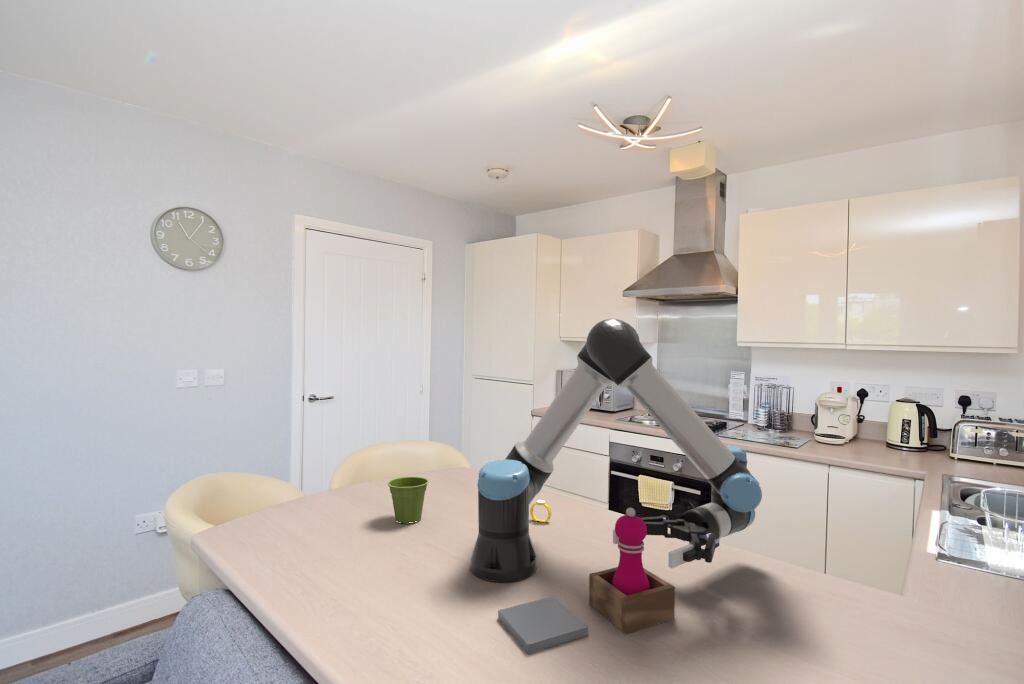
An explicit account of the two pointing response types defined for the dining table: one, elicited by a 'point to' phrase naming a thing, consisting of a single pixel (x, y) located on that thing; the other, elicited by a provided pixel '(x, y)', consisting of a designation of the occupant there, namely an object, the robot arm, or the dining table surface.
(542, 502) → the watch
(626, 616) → the walnut collar
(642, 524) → the pepper mill
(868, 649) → the dining table surface
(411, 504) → the plant pot
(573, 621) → the slate tile
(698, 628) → the dining table surface
